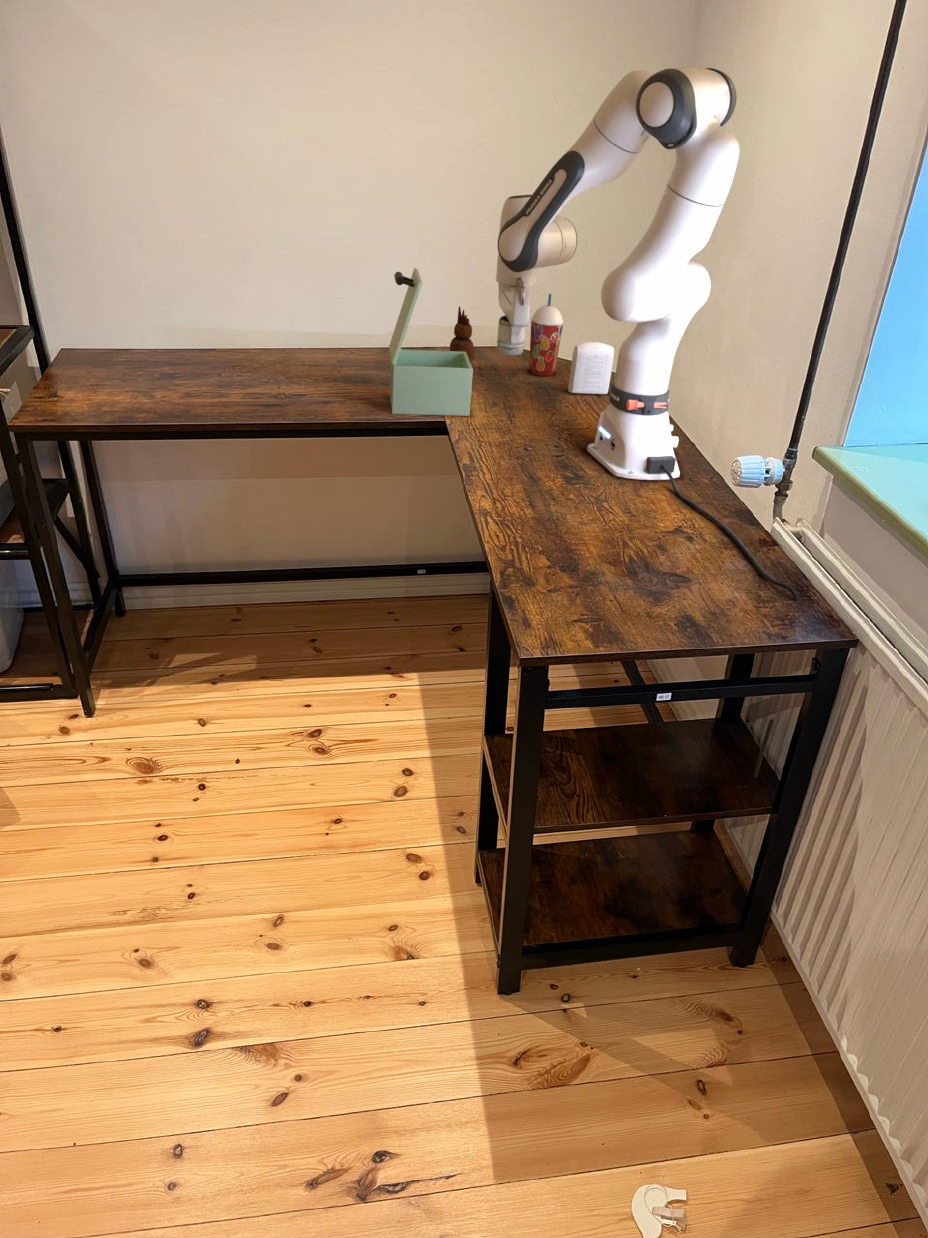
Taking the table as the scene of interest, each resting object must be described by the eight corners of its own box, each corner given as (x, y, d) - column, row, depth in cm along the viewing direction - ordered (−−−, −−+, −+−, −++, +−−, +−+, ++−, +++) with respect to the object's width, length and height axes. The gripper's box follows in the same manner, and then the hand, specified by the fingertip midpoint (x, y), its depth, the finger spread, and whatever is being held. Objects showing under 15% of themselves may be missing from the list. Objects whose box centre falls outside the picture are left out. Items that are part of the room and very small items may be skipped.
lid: (417, 268, 214) (396, 261, 212) (422, 282, 202) (399, 274, 201) (392, 347, 222) (371, 340, 221) (395, 364, 211) (373, 357, 209)
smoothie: (563, 372, 252) (572, 294, 242) (548, 379, 246) (557, 299, 236) (535, 366, 256) (543, 288, 246) (520, 372, 250) (527, 293, 240)
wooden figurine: (445, 363, 252) (448, 305, 245) (465, 362, 255) (469, 304, 247) (455, 371, 247) (459, 311, 240) (476, 369, 249) (480, 310, 242)
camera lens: (490, 349, 219) (493, 314, 215) (511, 346, 222) (514, 311, 218) (508, 357, 215) (511, 321, 211) (529, 353, 218) (532, 318, 214)
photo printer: (605, 389, 242) (612, 340, 236) (610, 395, 239) (617, 345, 232) (566, 388, 241) (572, 339, 234) (569, 394, 237) (576, 344, 231)
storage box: (462, 396, 230) (465, 351, 225) (469, 415, 219) (473, 368, 213) (389, 394, 228) (390, 348, 222) (392, 413, 216) (393, 366, 211)
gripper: (539, 284, 202) (533, 350, 209) (523, 265, 219) (518, 327, 226) (509, 283, 201) (504, 349, 208) (495, 264, 218) (491, 326, 225)
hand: (511, 337), depth 217 cm, fingers closed on camera lens, 6 cm apart
